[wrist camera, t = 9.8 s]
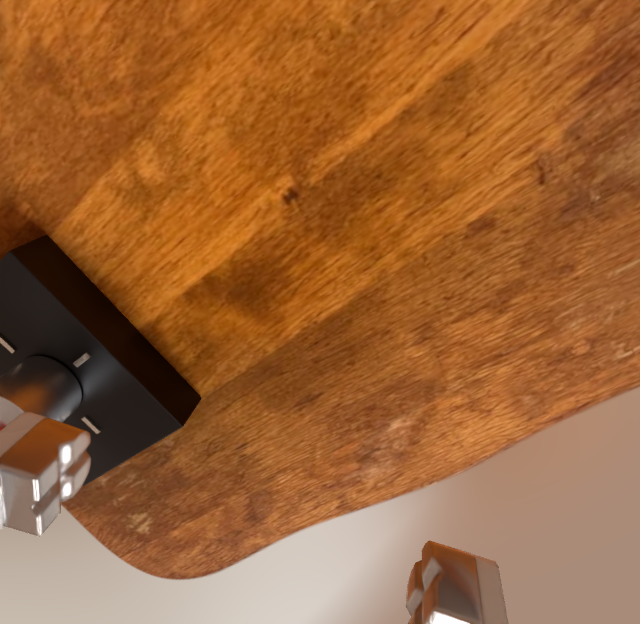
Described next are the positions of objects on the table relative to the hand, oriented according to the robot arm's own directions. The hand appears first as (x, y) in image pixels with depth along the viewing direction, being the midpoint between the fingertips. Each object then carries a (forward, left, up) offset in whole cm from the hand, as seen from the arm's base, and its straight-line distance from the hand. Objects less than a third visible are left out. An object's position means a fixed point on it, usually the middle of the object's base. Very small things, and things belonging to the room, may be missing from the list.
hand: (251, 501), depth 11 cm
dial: (+5, +20, -14) cm, 24 cm away
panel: (+5, +20, -17) cm, 26 cm away
